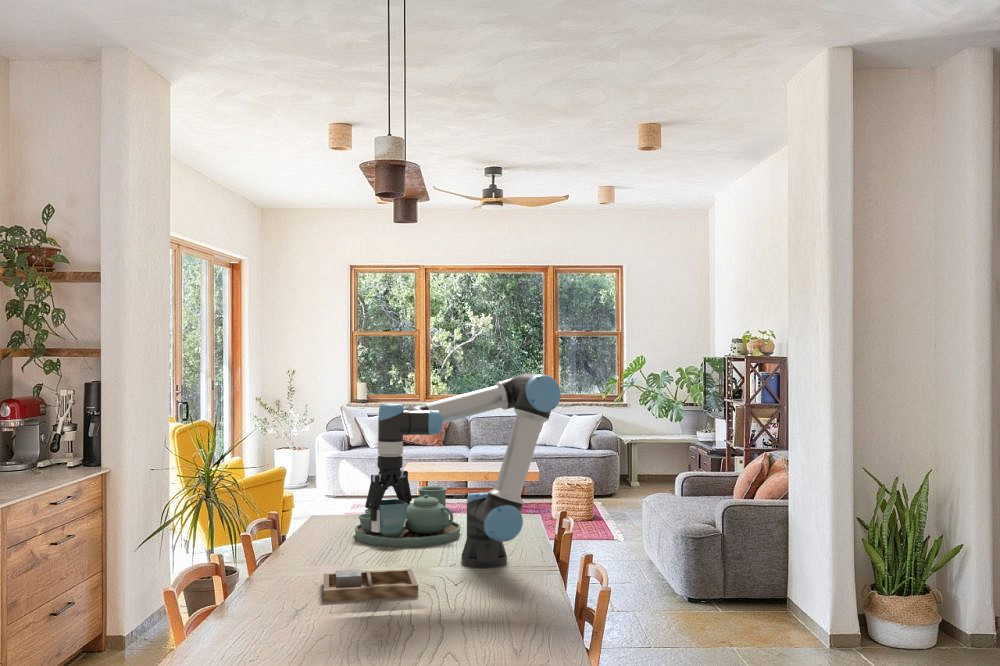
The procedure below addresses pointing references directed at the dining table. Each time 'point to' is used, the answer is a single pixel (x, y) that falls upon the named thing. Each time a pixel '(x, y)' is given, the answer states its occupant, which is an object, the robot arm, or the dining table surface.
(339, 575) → the grey metal block
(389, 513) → the flower pot
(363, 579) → the wooden divided tray
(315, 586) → the dining table surface
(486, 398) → the robot arm
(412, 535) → the tea set
